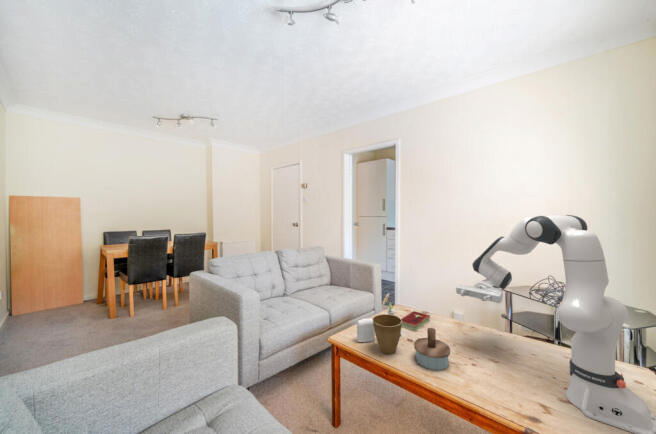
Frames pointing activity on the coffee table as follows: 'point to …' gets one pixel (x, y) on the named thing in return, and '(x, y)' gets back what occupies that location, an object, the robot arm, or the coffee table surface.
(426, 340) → the walnut lid
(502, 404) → the coffee table surface
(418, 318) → the hardcover book
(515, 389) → the coffee table surface
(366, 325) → the photo printer
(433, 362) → the ceramic bowl
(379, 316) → the plant pot
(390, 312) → the flower in vase
